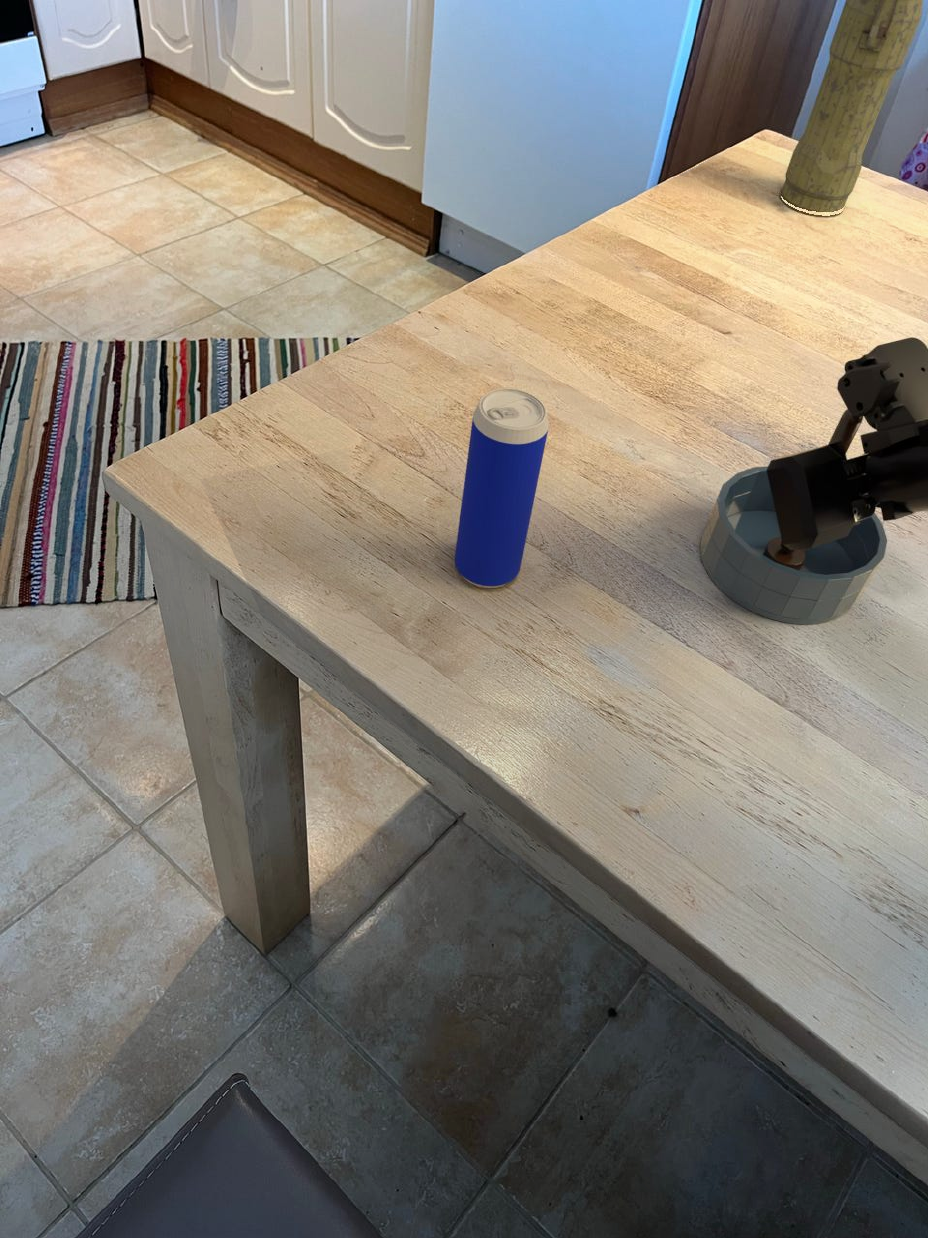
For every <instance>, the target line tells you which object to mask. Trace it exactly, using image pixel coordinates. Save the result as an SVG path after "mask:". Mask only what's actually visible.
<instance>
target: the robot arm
mask: <svg viewBox="0 0 928 1238" xmlns="http://www.w3.org/2000/svg"><path fill="white" fill-rule="evenodd" d="M843 369H844V374H843V375H842V376H840V378H839V379H838V380H837V386H836V389H837V392H838V394H839V396H840V398H841V399H842V401H843V403H844V405H845V407H846V410H847V409H848V411H849V412H850V414H851V415H852V416H854V417H857V418H859V417H863V418H864V419H865V421H866V423H867V424H868V426H870V428H873V429H874V430H875V431H870V432H866V433H863V434H860V436H859V437H860V441H861V446H862V449H863V450H862V451H863V454H860V455H857V456H855V457H852V458H848V459H847V452H846V453H845V448H844V443H843V441H839V442H835V443H832V444H829V443H828V444H829V445H828V444H825V445H822V446H819V447H814V448H811V449H806V450H802V451H799V452H795V453H792V454H788V455H784V456H782V457H778V458H774V459H771V460H770V462H769V463H768V465H767V466H768V468H767V470H766V471H767V476H768V480H769V485H770V489H771V494H772V498H773V503H774V507H775V512H776V516H777V521H778V525H779V530H780V534H781V539H782V543H783V545H784V546H786V547H787V548H788V549H790V550H800V549H811V548H814V547H817V546H820V545H823V544H826V543H829V542H831V541H834V540H837V539H840V538H843V537H846V536H848V534H849V532H850V531H851V529H852V527H853V526H856V525H859V524H860V520H863V519H866V518H869V517H871V516H873V514H874V513H875V514H876V510H877V509H876V508H879V509H880V512H881V515H882V521H883V522H888V521H895V520H899V519H902V518H904V517H907V516H911V515H913V514H916V513H920V512H921V513H922V512H928V346H927V345H926V343H925V342H923V340H921V339H920V338H917V337H907V338H902V339H899V340H895V341H890V342H886V343H882V344H878V345H876V346H875V347H874V348H873V349H871V350H870V351H869V352H868V353H865V354H863V355H862V356H861V357H859V358H856V359H852V360H848V361H846V362H845V364H844V368H843Z"/></svg>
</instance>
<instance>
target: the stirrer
mask: <svg viewBox="0 0 928 1238" xmlns="http://www.w3.org/2000/svg"><path fill="white" fill-rule="evenodd" d="M863 420H864V416H863V417H859V418H857V417H854V416H852V415H851V414H850V412H849V411H848V409H847V408H846V409H845V410H844V411H843V413H842V415H841V417H840V419H839V421H838V422H837V425H836V427H835V428H834V429H835V430H834V431H833V433H832V435H831V438H830V439H829V442H828V443H827V445H829V444H832V443H835V442H839V441H843V443H844V448H845V453H846V454H847V452H848V450H849V449H850V446H851V444H852V442H853V441H854V438H855V436H856V434H857V432H858V431H859V429H860V427H861V424H862V422H863ZM763 555H764V556H766V557H767V558H769V559H771V560H772V561H774V562H776V563H779V564H782V565H784V566H787V567H790V568H793V569H796V570H800V569H801V567H802V565H803V563H804V561H805V559H806V553H805V551H804V549H800V550H790V549H788V548H787V547H786V546H784V545H783V543H782V539H781V538H775V539H772V540H771V541H769V542H768V544H767V546H766V548H765V550H764V553H763Z"/></svg>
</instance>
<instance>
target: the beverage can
mask: <svg viewBox="0 0 928 1238" xmlns="http://www.w3.org/2000/svg"><path fill="white" fill-rule="evenodd" d="M549 429H550V423H549V417H548V411H547V408H546V406H545V404H544V402H543V401H542V400H541V399H540V398H538V396H535V395H534V394H532V393H530V392H527V391H524V390H522V389H517V388H507V387H506V388H497V389H493V390H490V391H488V392H486V393H484V394H483V396H482V397H481V398H480V399H479V401H478V403H477V405H476V406H475V409H474V411H473V414H472V420H471V428H470V435H469V444H468V450H467V451H468V452H467V458H466V459H467V460H466V465H465V466H466V467H465V473H464V482H463V489H462V490H463V491H462V498H461V505H460V514H459V520H458V521H459V522H458V529H457V536H456V537H457V538H456V544H455V552H454V559H453V560H454V561H453V562H454V565H455V569H456V571H457V572H458V573H459V574H460V576H461V577H462V578H463V579H464V580H465V581H467V582H468V583H469V584H471V585H473V586H475V587H478V588H483V589H497V588H500V587H503V586H505V585H507V584H509V583H510V582H512V581H514V580H515V579H516V578H517V577H518V575H519V573H520V571H521V567H522V562H523V556H524V552H525V547H526V542H527V537H528V532H529V527H530V522H531V517H532V513H533V507H534V503H535V497H536V494H537V493H536V492H537V488H538V483H539V477H540V473H541V468H542V464H543V463H542V462H543V458H544V453H545V449H546V444H547V443H546V442H547V439H548V433H549Z"/></svg>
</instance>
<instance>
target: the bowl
mask: <svg viewBox="0 0 928 1238" xmlns="http://www.w3.org/2000/svg"><path fill="white" fill-rule="evenodd" d="M768 466H769V465H767V466H754V467H751V468H748V469H745V470H742V471H739V472H736V473H735V474H734V475H733V476H731V477H730V478H729V479H728V480H726V481H725V482H724V483H723V484H722V485H721V487H720V491H719V493H718V496H717V498H716V500H715V503H714V506H713V508H712V511H711V513H710V515H709V519H708V521H707V523H706V525H705V529H704V531H703V534H702V535H701V542H700V547H699V548H700V549H699V551H700V558H701V563H702V565H703V567H704V569H705V572H706V574H707V575H708V577H709V578H710V580H711V581H712V582H713V583H714V585H715V586H716V587H717V588H718V590H720V591H721V592H722V593H723V594H724V595H726V596H727V598H729V599H731V600H732V601H733V602H735V603H736V604H738V605H740V606H741V607H743V608H744V609H747V610H748V611H750V612H752V613H754V614H757V615H759V616H760V617H761V616H762V617H764V618H767V619H770V620H773V621H777V622H781V623H787V624H794V625H808V626H809V625H819V624H823V623H824V624H825V623H829V622H832V621H835V620H837V619H840V618H841V617H844V616H845V615H846V614H847V613H849V612H850V611H851V610H852V609H853V608H854V607H855V605H856V603H857V602H858V600H859V599H860V598H862V596H863V594H864V592H865V590H866V589H867V587H868V585H869V584H870V582H871V581H872V579H873V577H874V576H875V574H876V572H877V570H878V569H879V567H880V565H881V564H882V563H883V560H884V558H885V556H886V551H887V545H888V537H887V534H886V531H885V528H884V525H883V524H884V523H882V520H881V519H880V517H879V516H878V515H877V514H876V512H875V513H874V514H873V516H871V517H869V518H866V519H863V520H860V524H859V525H856V526H853V527H852V529H851V531H850V532H849V534H848V536H846V537H843V538H840V539H837V540H834V541H831V542H829V543H826V544H823V545H820V546H817V547H814V548H811V549H804V551H805V553H806V559H805V561H804V563H803V565H802V567H801V569H800V570H796V569H793V568H790V567H787V566H784V565H782V564H779V563H776V562H774V561H772V560H771V559H769V558H767V557H766V556H764V555H763V553H764V550H765V548H766V546H767V544H768V542H769V541H771V540H772V539H775V538H781V534H780V530H779V525H778V521H777V516H776V512H775V507H774V503H773V498H772V494H771V489H770V485H769V480H768V476H767V471H766V470H767V468H768Z"/></svg>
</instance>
